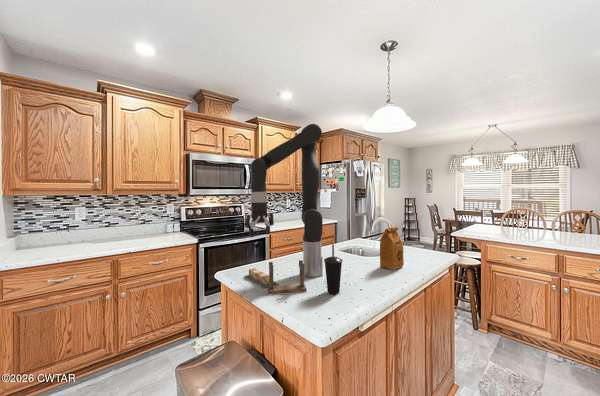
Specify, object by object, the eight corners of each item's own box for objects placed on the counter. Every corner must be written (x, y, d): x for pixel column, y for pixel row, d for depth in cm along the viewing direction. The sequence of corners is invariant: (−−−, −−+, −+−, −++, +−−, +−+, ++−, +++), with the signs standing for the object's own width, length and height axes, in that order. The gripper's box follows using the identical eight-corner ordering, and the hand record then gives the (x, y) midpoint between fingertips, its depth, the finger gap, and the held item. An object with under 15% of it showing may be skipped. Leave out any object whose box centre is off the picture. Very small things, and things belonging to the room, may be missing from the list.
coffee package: (406, 267, 137) (406, 227, 137) (393, 271, 130) (392, 229, 130) (391, 263, 146) (390, 225, 145) (377, 267, 138) (376, 227, 138)
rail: (273, 283, 114) (273, 277, 114) (267, 285, 112) (267, 278, 112) (254, 274, 128) (254, 268, 128) (248, 275, 126) (248, 269, 126)
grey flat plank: (244, 276, 126) (244, 275, 126) (256, 273, 130) (256, 272, 130) (265, 288, 110) (265, 287, 110) (278, 284, 115) (278, 283, 115)
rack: (304, 287, 111) (304, 260, 111) (306, 292, 105) (306, 263, 105) (267, 289, 109) (267, 262, 108) (268, 295, 103) (267, 265, 103)
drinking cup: (338, 297, 100) (337, 247, 99) (321, 293, 104) (320, 245, 103) (345, 291, 106) (345, 243, 106) (329, 287, 110) (328, 242, 110)
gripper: (249, 202, 112) (250, 238, 112) (276, 201, 121) (276, 234, 121) (241, 201, 118) (242, 236, 118) (267, 200, 127) (268, 232, 127)
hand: (259, 235), depth 120 cm, fingers open, 8 cm apart
